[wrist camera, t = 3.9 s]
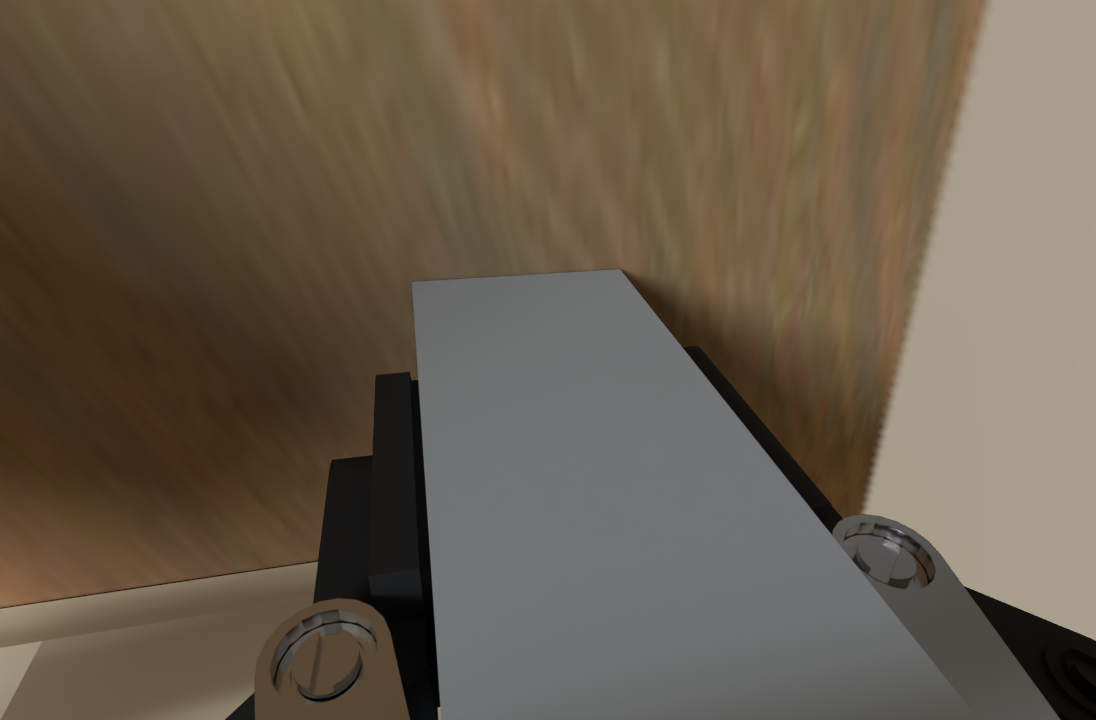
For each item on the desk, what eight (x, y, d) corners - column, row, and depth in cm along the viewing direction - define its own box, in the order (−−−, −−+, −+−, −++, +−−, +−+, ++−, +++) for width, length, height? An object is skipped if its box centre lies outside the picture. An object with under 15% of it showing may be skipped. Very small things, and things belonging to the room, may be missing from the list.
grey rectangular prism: (411, 281, 11) (472, 1199, 3) (619, 269, 12) (1161, 947, 3) (428, 450, 13) (490, 1254, 5) (603, 430, 14) (917, 1090, 6)
